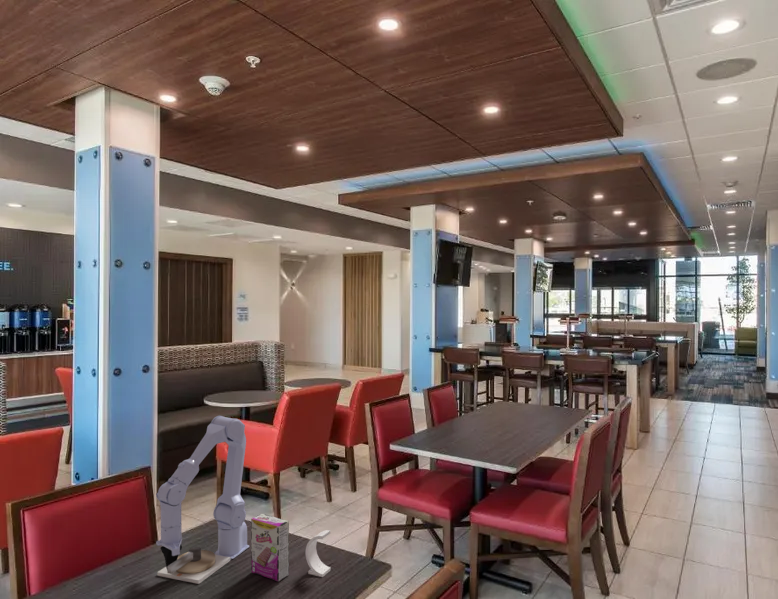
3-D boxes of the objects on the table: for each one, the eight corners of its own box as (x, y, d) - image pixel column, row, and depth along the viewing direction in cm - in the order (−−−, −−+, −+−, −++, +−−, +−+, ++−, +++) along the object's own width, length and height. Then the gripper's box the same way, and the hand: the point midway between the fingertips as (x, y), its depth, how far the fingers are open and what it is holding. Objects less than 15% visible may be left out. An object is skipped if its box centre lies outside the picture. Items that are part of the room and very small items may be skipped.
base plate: (191, 553, 174) (191, 549, 174) (230, 560, 169) (230, 556, 169) (157, 575, 160) (157, 571, 160) (198, 583, 155) (198, 579, 155)
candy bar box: (250, 573, 161) (250, 518, 161) (262, 566, 165) (261, 512, 165) (278, 582, 155) (278, 526, 155) (289, 575, 159) (289, 519, 160)
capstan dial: (191, 552, 172) (191, 539, 172) (223, 557, 168) (223, 544, 168) (152, 578, 156) (152, 563, 156) (186, 584, 152) (186, 569, 152)
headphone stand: (322, 577, 158) (322, 536, 158) (305, 573, 161) (305, 532, 161) (330, 570, 162) (330, 530, 162) (314, 566, 165) (313, 527, 165)
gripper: (152, 518, 162) (152, 563, 162) (160, 536, 150) (161, 585, 150) (177, 513, 166) (177, 557, 166) (187, 530, 153) (187, 577, 153)
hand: (171, 570), depth 158 cm, fingers closed
